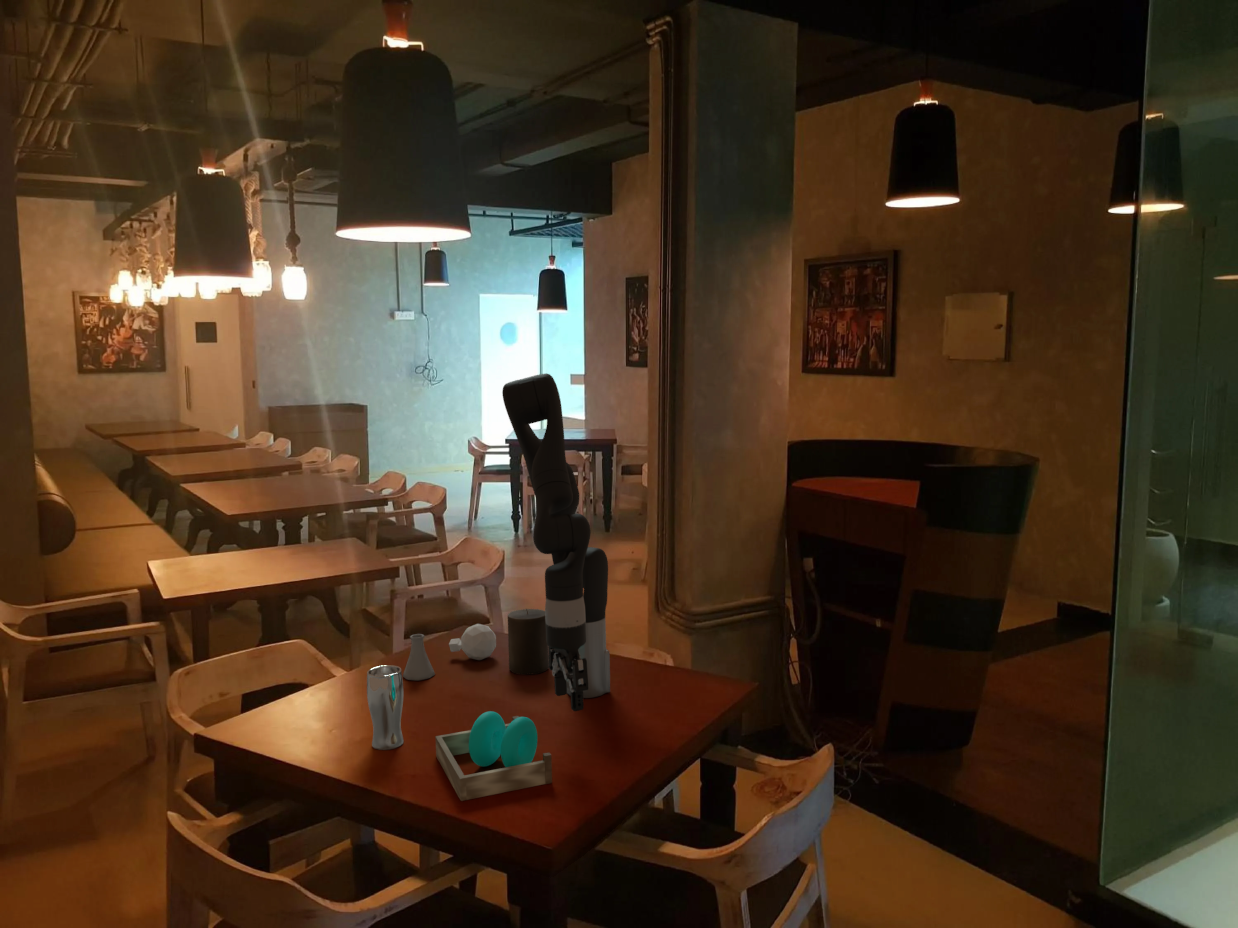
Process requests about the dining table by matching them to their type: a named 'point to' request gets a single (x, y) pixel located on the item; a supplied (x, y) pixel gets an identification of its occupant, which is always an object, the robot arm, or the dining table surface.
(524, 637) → the pillar candle
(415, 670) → the flask
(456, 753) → the box
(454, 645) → the perfume bottle
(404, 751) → the dining table surface
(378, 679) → the beer glass
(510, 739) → the teal diabolo
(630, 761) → the dining table surface
